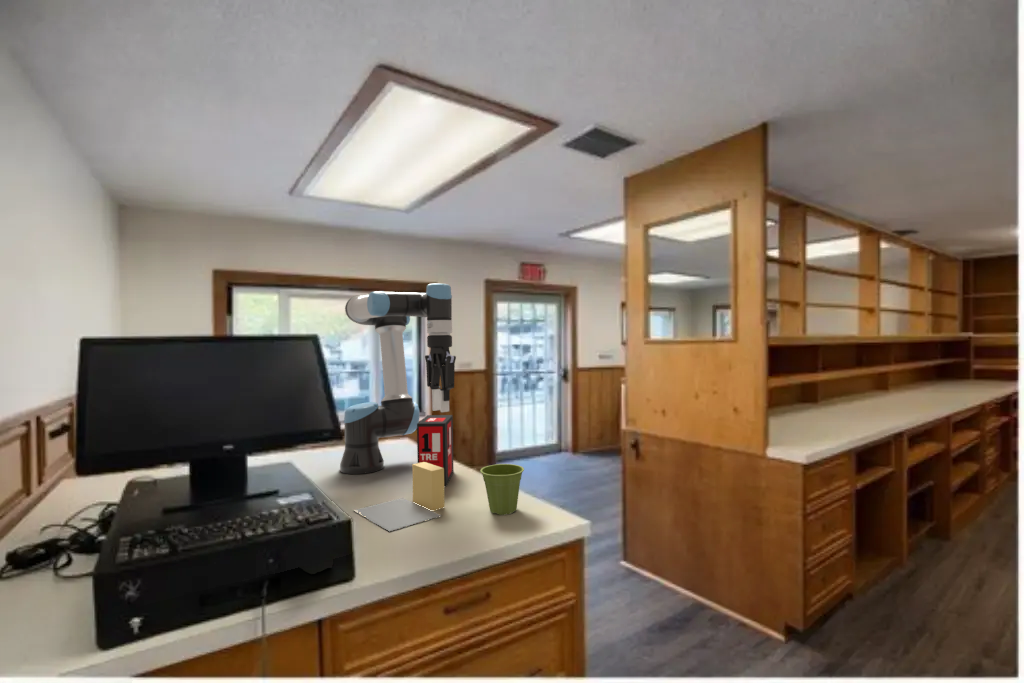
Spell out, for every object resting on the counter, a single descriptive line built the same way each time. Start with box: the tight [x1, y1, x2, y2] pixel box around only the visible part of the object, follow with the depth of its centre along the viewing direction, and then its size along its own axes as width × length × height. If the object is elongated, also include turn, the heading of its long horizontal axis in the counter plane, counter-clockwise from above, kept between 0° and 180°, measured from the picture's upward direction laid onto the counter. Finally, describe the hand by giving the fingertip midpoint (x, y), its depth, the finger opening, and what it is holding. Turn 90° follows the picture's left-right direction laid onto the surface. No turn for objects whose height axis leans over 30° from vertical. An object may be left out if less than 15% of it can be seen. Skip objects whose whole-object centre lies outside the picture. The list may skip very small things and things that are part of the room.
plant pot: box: [479, 463, 525, 516], centre depth 133 cm, size 12×12×11 cm
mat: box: [356, 497, 442, 533], centre depth 132 cm, size 20×15×1 cm
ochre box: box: [411, 462, 446, 511], centre depth 139 cm, size 10×4×11 cm, turn 42°
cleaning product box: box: [416, 414, 454, 487], centre depth 164 cm, size 16×9×20 cm, turn 179°
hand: (440, 410), depth 151 cm, fingers open, 4 cm apart
